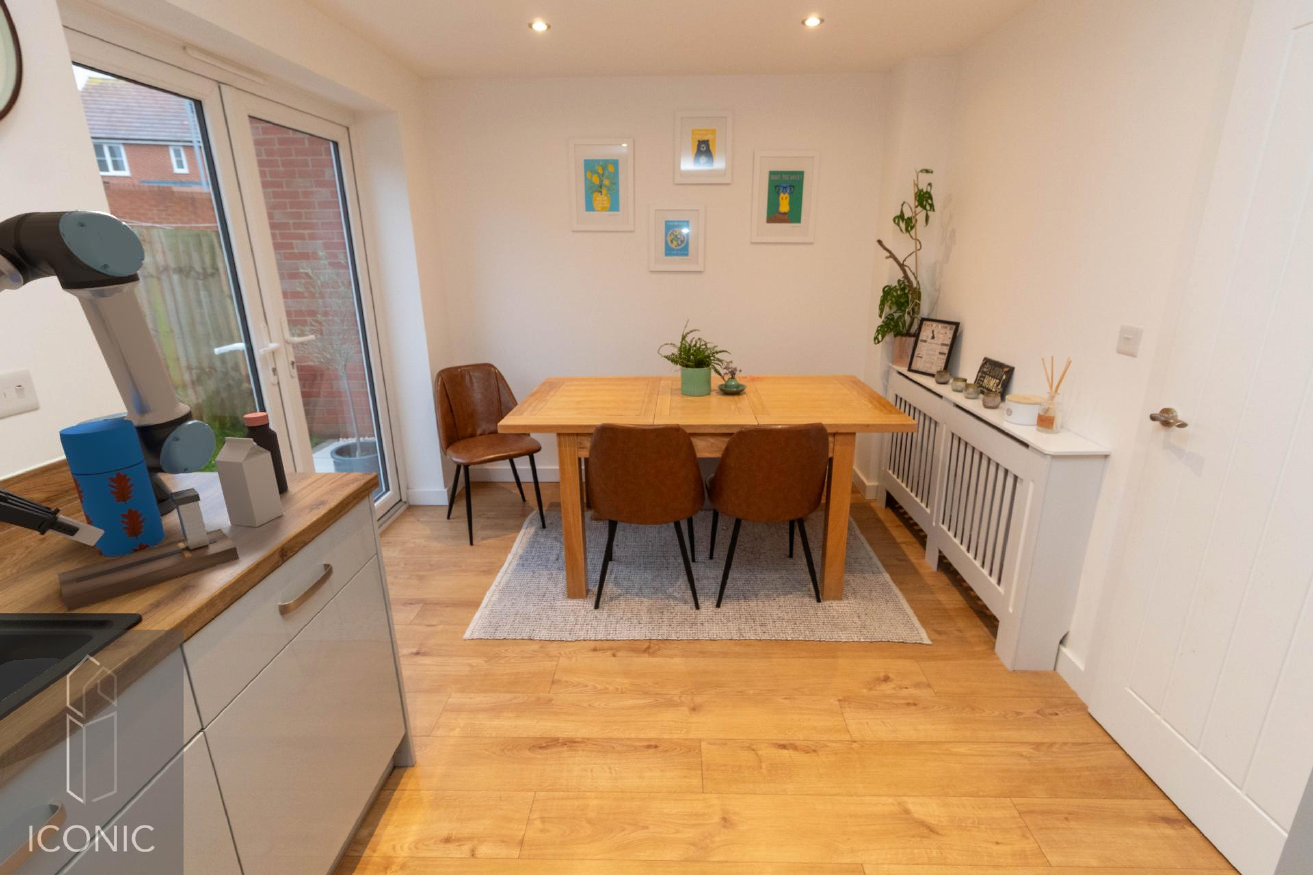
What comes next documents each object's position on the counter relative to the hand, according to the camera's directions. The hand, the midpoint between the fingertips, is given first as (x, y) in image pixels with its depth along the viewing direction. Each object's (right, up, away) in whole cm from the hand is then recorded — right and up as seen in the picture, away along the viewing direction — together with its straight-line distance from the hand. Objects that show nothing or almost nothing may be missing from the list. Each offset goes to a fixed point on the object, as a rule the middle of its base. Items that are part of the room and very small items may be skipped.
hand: (97, 537), depth 103 cm
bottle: (+2, +4, +44) cm, 44 cm away
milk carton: (+9, -1, +28) cm, 30 cm away
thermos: (-10, -4, +18) cm, 21 cm away
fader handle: (+9, -3, +11) cm, 14 cm away
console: (+4, -7, +7) cm, 11 cm away
